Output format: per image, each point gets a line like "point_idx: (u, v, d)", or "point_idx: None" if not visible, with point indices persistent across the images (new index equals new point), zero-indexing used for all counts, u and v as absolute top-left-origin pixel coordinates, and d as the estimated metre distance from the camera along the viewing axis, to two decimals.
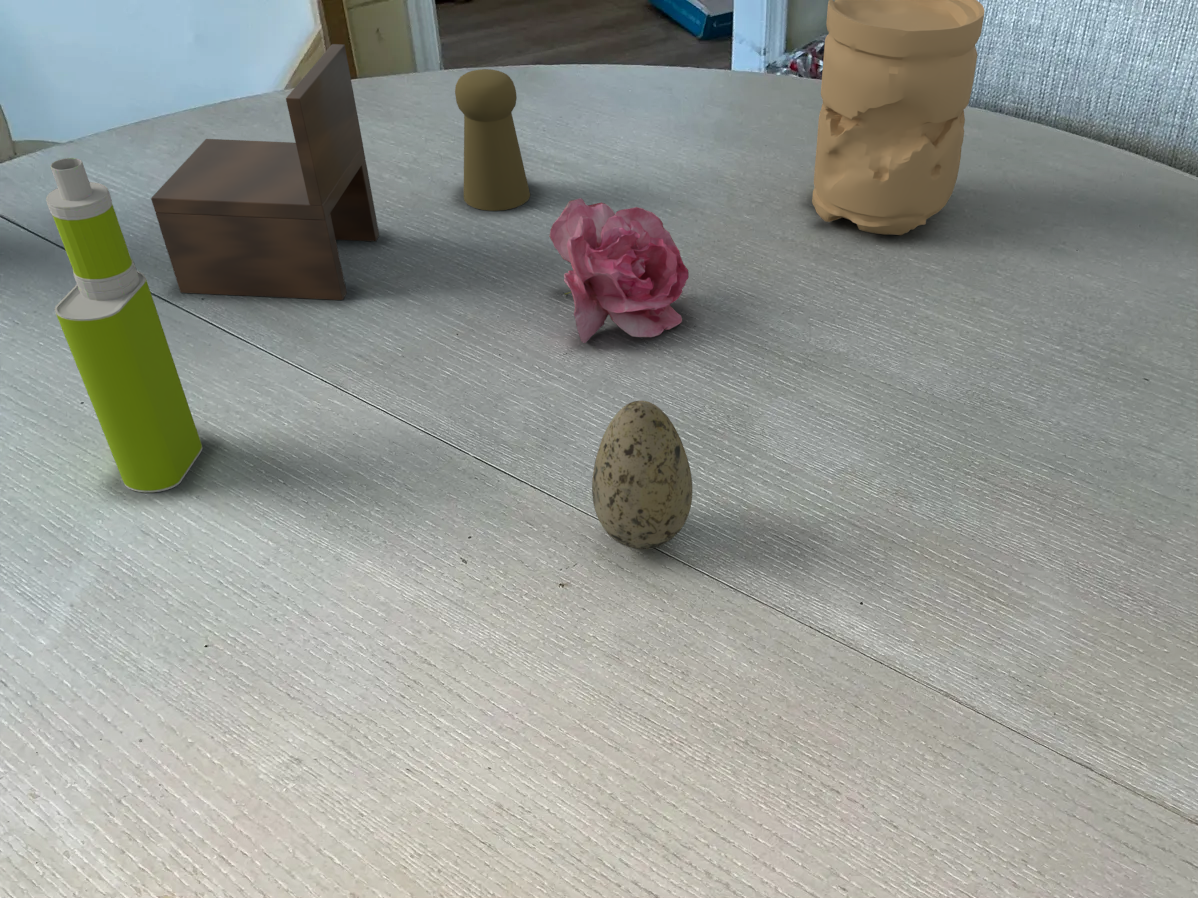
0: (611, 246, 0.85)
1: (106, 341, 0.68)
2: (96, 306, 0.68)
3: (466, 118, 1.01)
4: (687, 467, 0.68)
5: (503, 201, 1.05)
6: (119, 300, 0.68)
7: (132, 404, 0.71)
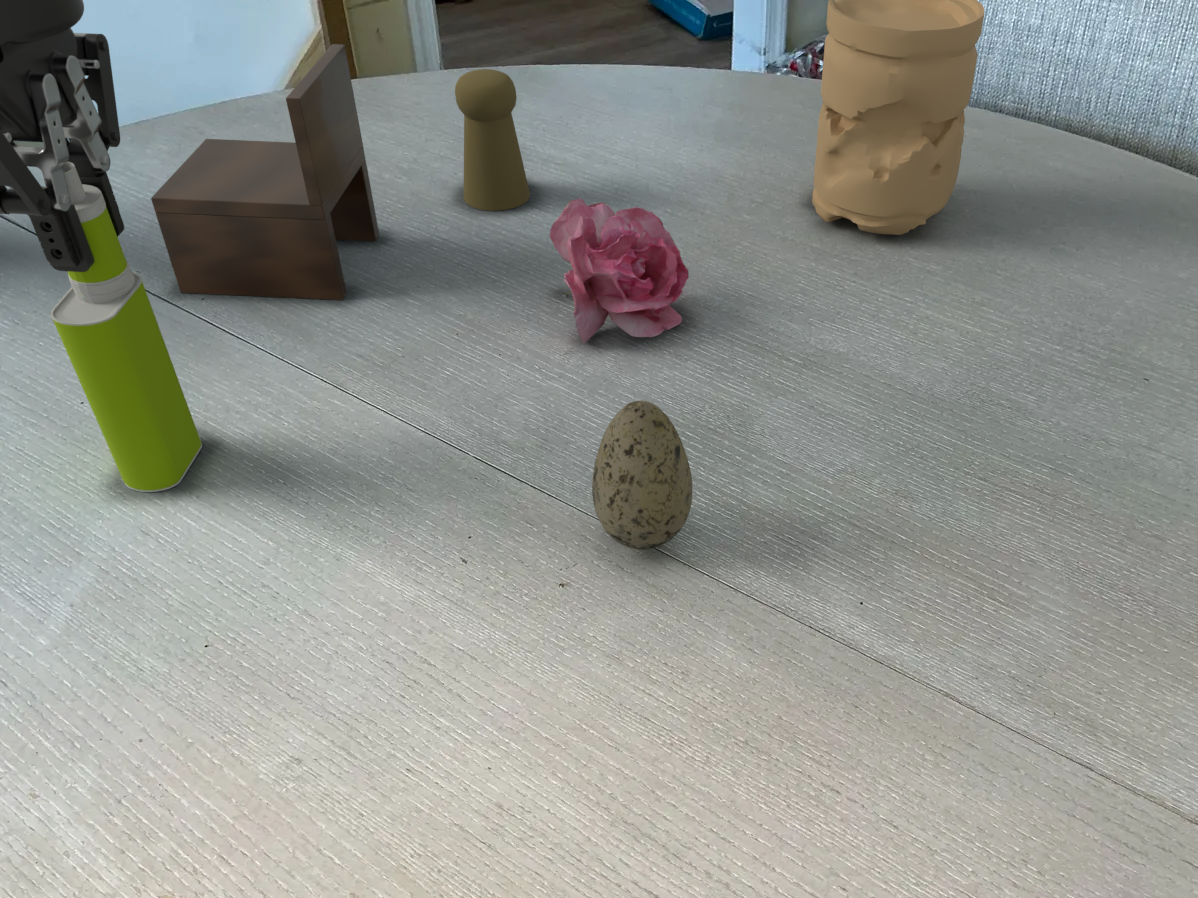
0: (611, 246, 0.85)
1: (103, 346, 0.67)
2: (92, 309, 0.67)
3: (466, 118, 1.01)
4: (687, 467, 0.68)
5: (503, 201, 1.05)
6: (115, 304, 0.68)
7: (131, 407, 0.70)
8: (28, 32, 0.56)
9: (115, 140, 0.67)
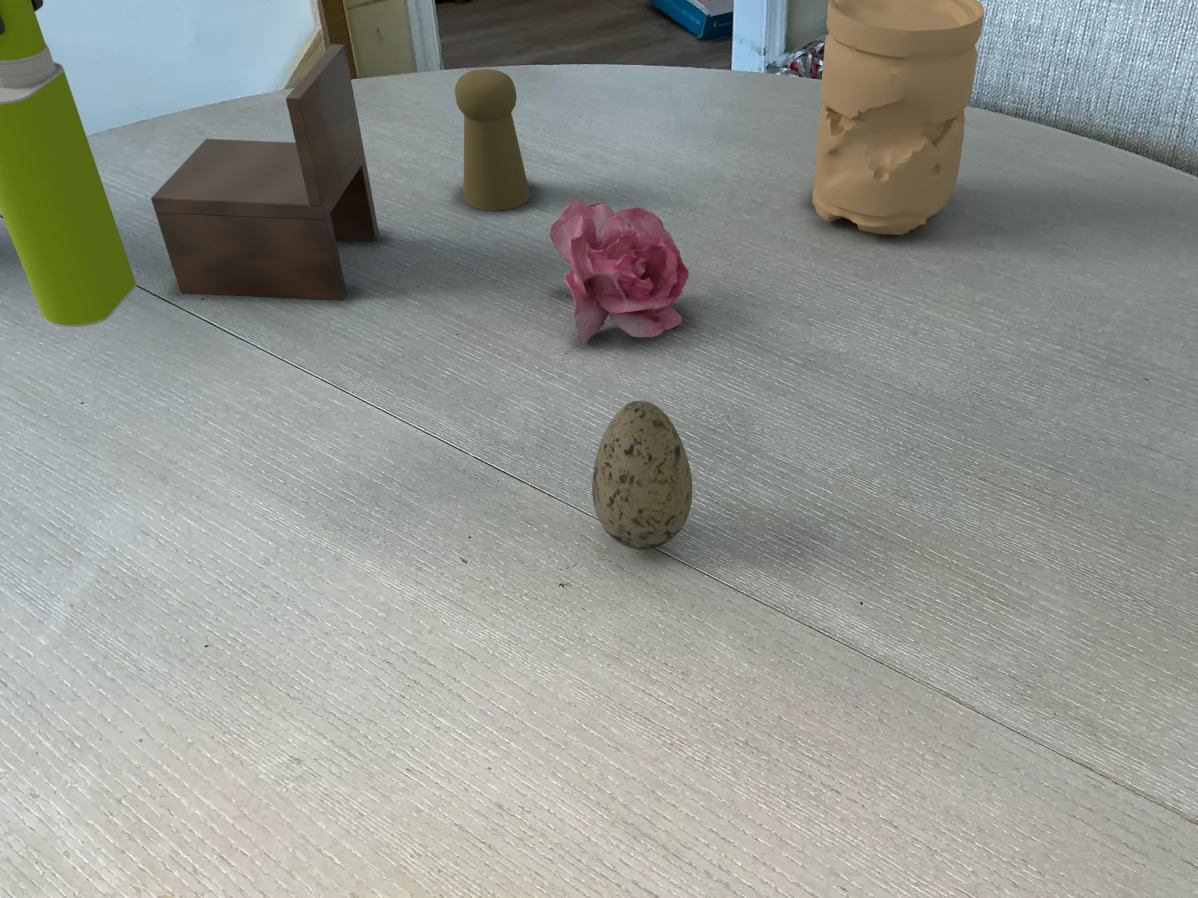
0: (611, 246, 0.85)
1: (14, 133, 0.58)
2: (3, 92, 0.59)
3: (466, 118, 1.01)
4: (687, 467, 0.68)
5: (503, 201, 1.05)
6: (31, 88, 0.59)
7: (48, 215, 0.61)
8: None
9: None
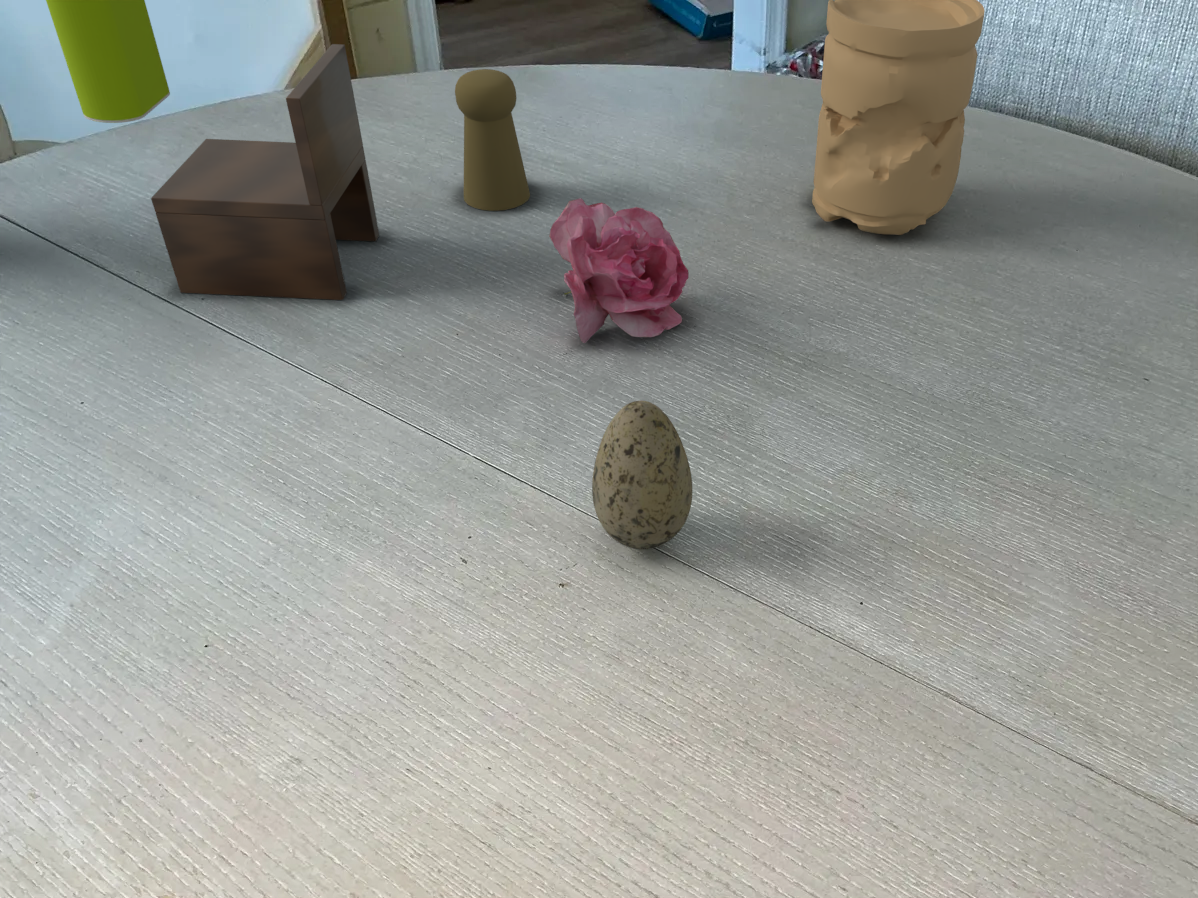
0: (611, 246, 0.86)
1: None
2: None
3: (466, 118, 1.01)
4: (687, 467, 0.68)
5: (503, 201, 1.05)
6: None
7: (91, 5, 0.66)
8: None
9: None
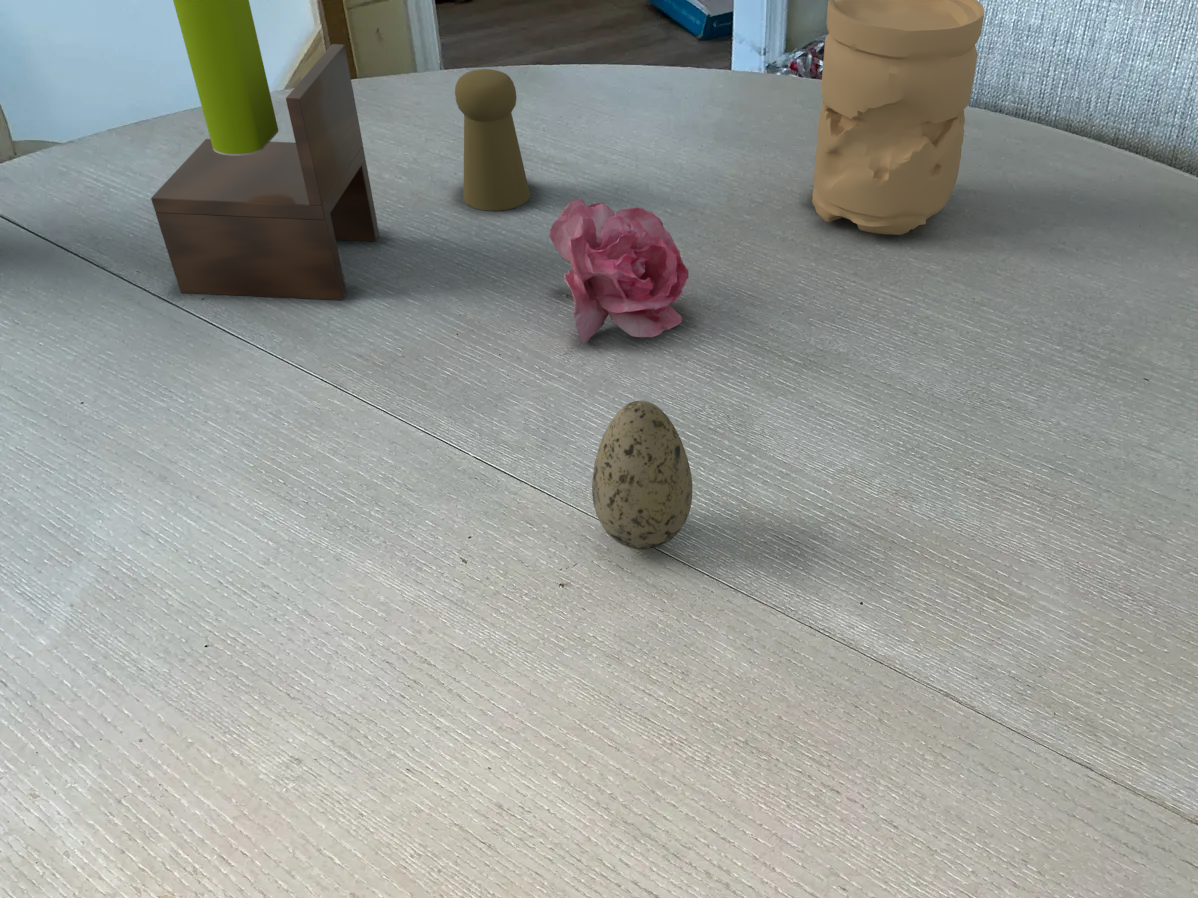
0: (611, 246, 0.86)
1: None
2: None
3: (466, 118, 1.01)
4: (687, 467, 0.68)
5: (503, 201, 1.05)
6: None
7: (226, 64, 0.83)
8: None
9: None
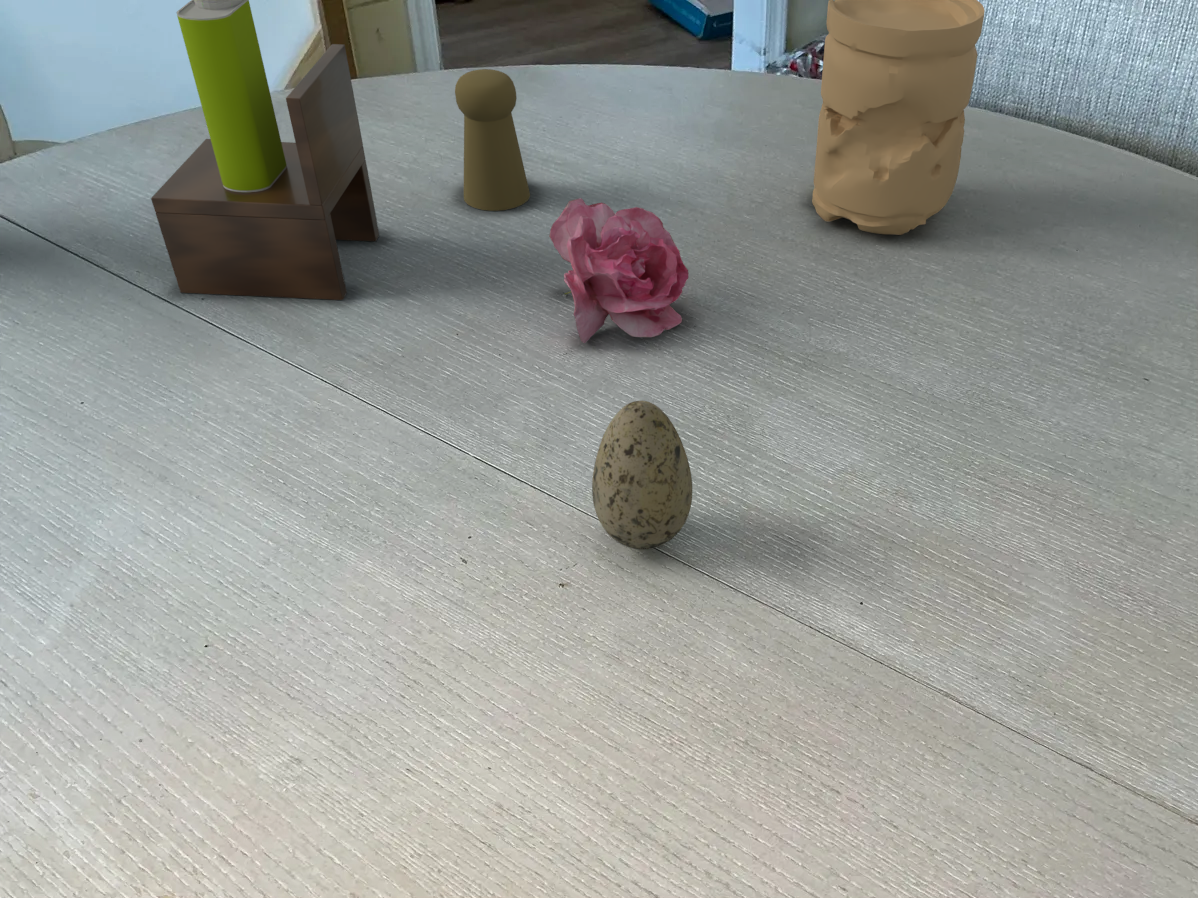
0: (611, 246, 0.86)
1: (218, 41, 0.82)
2: (210, 12, 0.82)
3: (466, 118, 1.01)
4: (687, 467, 0.68)
5: (503, 201, 1.05)
6: (228, 10, 0.82)
7: (236, 104, 0.85)
8: None
9: None
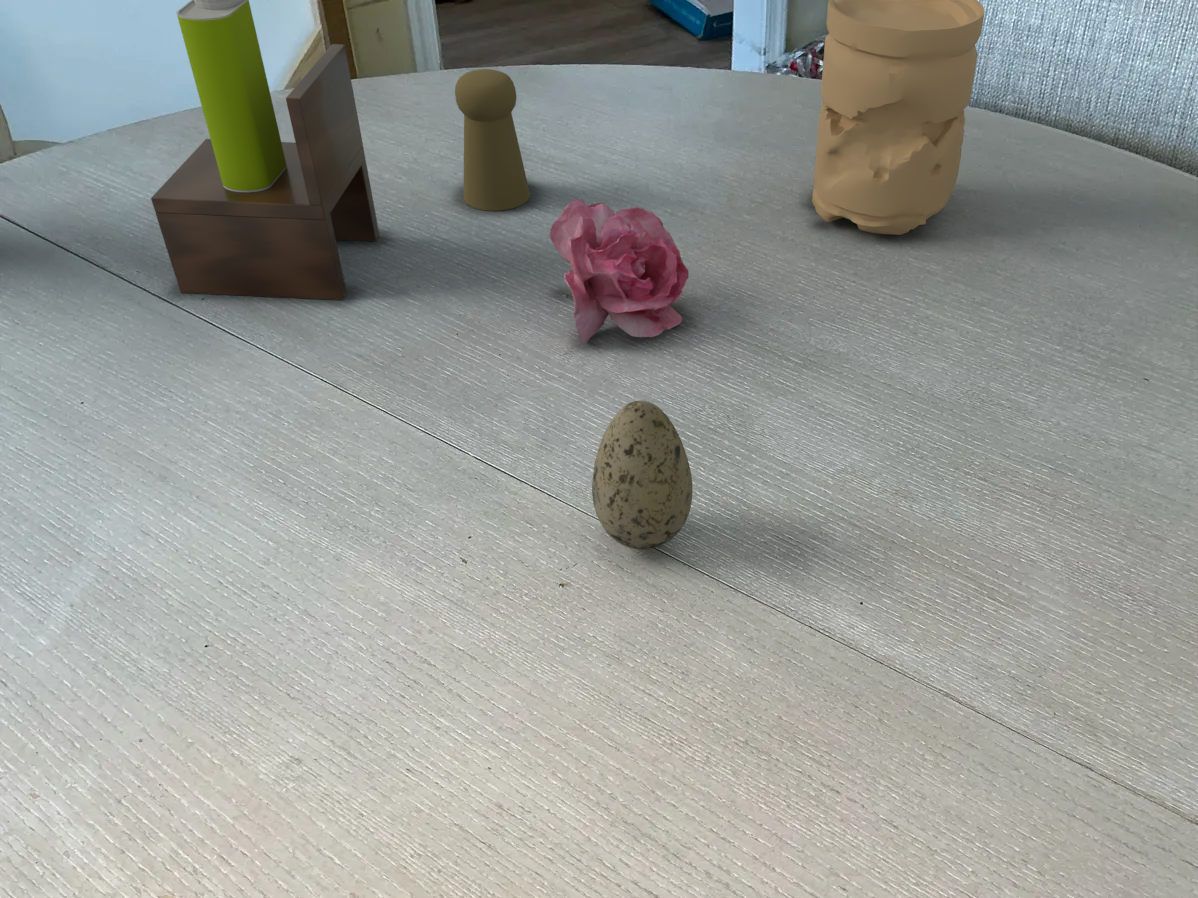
0: (611, 246, 0.86)
1: (218, 41, 0.82)
2: (210, 12, 0.82)
3: (466, 118, 1.01)
4: (687, 467, 0.68)
5: (503, 201, 1.05)
6: (228, 10, 0.82)
7: (236, 104, 0.85)
8: None
9: None
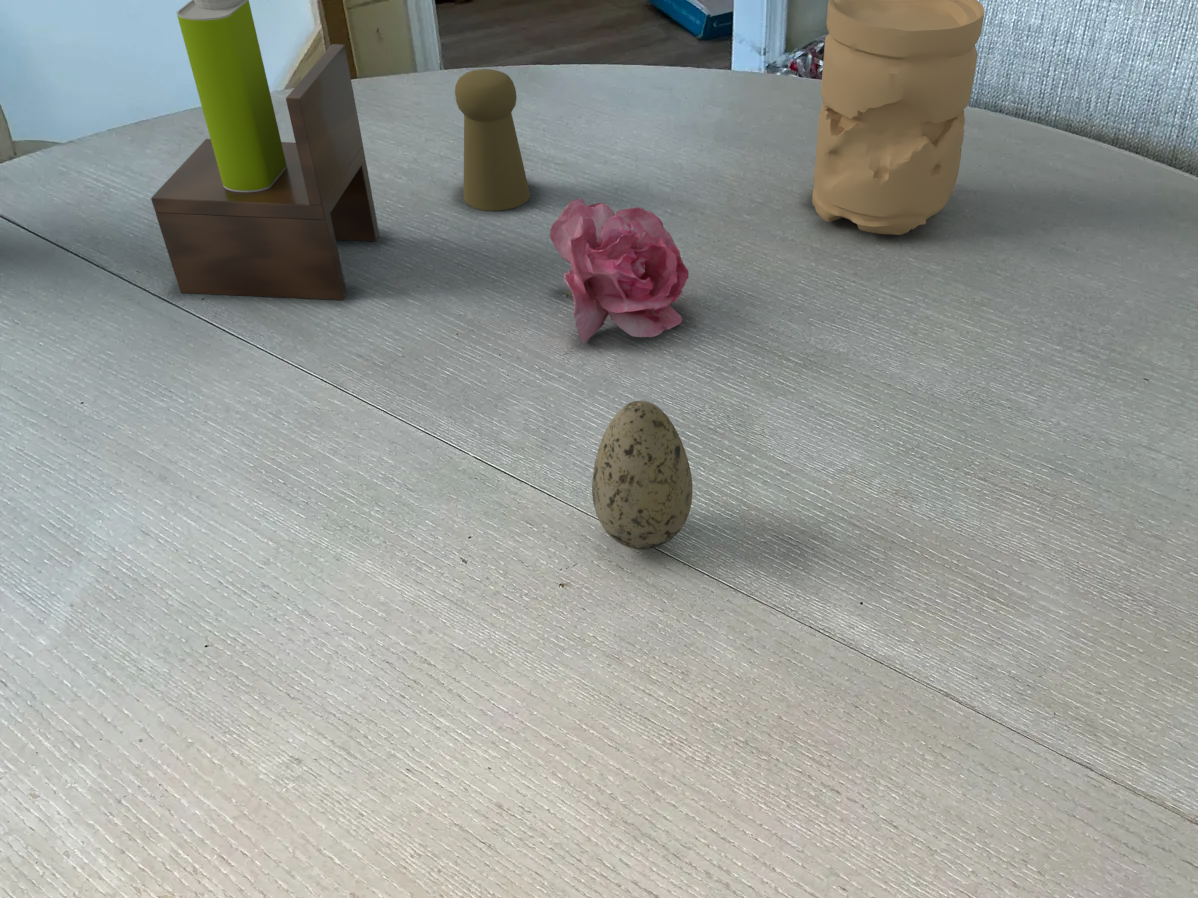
0: (611, 246, 0.86)
1: (218, 41, 0.82)
2: (210, 12, 0.82)
3: (466, 118, 1.01)
4: (687, 467, 0.68)
5: (503, 201, 1.05)
6: (228, 10, 0.82)
7: (236, 104, 0.85)
8: None
9: None
